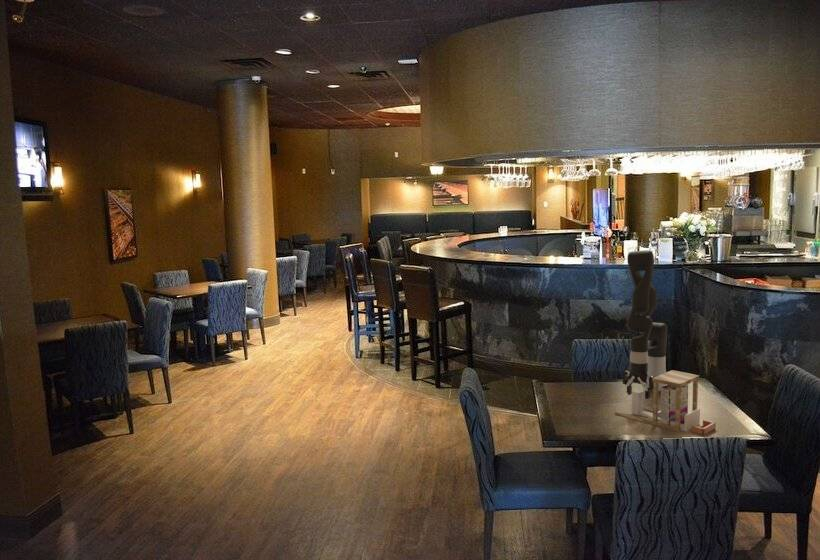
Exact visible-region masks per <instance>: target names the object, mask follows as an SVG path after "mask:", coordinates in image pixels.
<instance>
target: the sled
mask: <svg viewBox="0 0 820 560" xmlns="http://www.w3.org/2000/svg"><path fill="white" fill-rule="evenodd" d="M644 401H645V390H641V389H636V390H632V394H631V415H634V416H640V417H644V418H648V419H649V420H653V412H651V411H650V412H649V411H646V410H645V409H644V406H645V404H644ZM659 410H660V411H658V422H660V423H664V424H667V423H666V420H664V419H661V409H659ZM700 421H701V408H699V407H697V409H695V410H693V411H692V410H691V411H689V412H688V413H687V414H685V418H684V423H680V431H682V432H686V433H687V432H689V431H692V426H697V427H699V426H701V425H700V424H701V422H700ZM670 425H671V426H675V422H673V421H670Z"/></svg>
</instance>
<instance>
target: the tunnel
mask: <svg viewBox="0 0 820 560" xmlns="http://www.w3.org/2000/svg"><path fill="white" fill-rule="evenodd" d="M699 380H700V375H697V374H694V373H689V372H683V371H678V370H673V369H671V370H669V371H666V373H664V374H661V375H659V376H656V377H654V378H653V380H652V382H654V383H653V391H652V393H653V394H652V398H653V399H652V407H651V406H646V405H644V411H646V410H647V411H648V412H649V411H650V412H652V413H653V420H649V418H646V417H643V416H639V415H635V414H632V413H630V414H629V413H627V412H623V411H619V410H615V411H614V415H618V416H621V417H625V418H629V419H632V420H635V419H636V420H637V421H639V420H640V421H639V422H643V421H644V423H646V422H647V424H650V425H653V426H658V427H661V428H664V429H665V428H666V429H668V430H672V431H675V432H681V430H680V410H681V387H682V386H684V385H689V384H692V407H691V409H692V410H691V411H693V410H695V409H697V408H698V394H699V392H698V391H699V390H698V389H699ZM658 383H661V384H666V385H670V386H675V387H676V411H675V426H671V425H668V424H664V423H660V422H658V411H660V410H661V409H659V392H658Z"/></svg>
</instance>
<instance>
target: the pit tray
mask: <svg viewBox="0 0 820 560" xmlns="http://www.w3.org/2000/svg"><path fill="white" fill-rule="evenodd" d="M716 427H717V426H716V421H715V422H713V421H711V420H707V419H702V424H701V425H698V426H692V429H691V433H692V434H694V435H695V434H696V435H699V436H702V437H705V436H706V435H709V434H710V433H711V432H713V431H714V430H715V431H716Z"/></svg>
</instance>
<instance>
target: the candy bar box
mask: <svg viewBox="0 0 820 560" xmlns="http://www.w3.org/2000/svg"><path fill="white" fill-rule="evenodd" d="M688 408H689V384H687V385H684V386H682V387H681V410H680V423H681V424H684V418H685V414H687V413H689V412H688V411H689V410H688ZM660 410H661V417H660V418H661V419H664V420H666V423H667V424H668V425H670V421H673V422H675V411H676V387H675V386H670V385H666V386H662V387H661V392H660Z"/></svg>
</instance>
